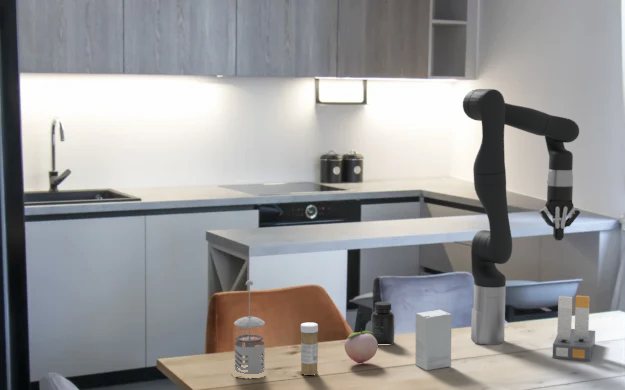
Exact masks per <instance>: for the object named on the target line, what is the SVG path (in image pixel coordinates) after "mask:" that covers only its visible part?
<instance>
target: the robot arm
mask: <svg viewBox="0 0 625 390" xmlns="http://www.w3.org/2000/svg"><path fill="white" fill-rule="evenodd" d="M462 108H463V109H462V110H463V113H465V116H467V118H469V119H471V120H474V121H479V122H480V121H481V129H482V130H481V131H482V132H481V134H482V137H481V143H480V146H479V149H478V151H477V155H476V157H475V159H474V163H473V185H474V190H475V194H476V197H477V198H478V200H479V202H480V204H481V205H482V207H483V210H484V212H485V213H486V216H487V219H488V224H489V230H486V229H482V230H479V231H477V232H476V233H475V234H474V236H473V238H472V241H471V245H470V246H471V247H470V250H471V251H470V258H471V259H470V261H471V274H472V277H473V307H472V308H471V321H470V322H471V325H470V328H471V329H470V331H471V333H470V339H471V341H473V342H474V343H475V344H479V345H480V344H481V345H487V346H488V345H489V346H490V345H491V346H492V345H494V346H496V345H501V344H504V343H505V326H506V325H505V322H506V321H505V320H506V315H505V314H506V289H507V288H506V286H507V285H506V280H507V278H506V276H505V274H503V273H502V272H501V271H499V269H498V268H497V266H496V264H498V265H502V264H506V263H507V262H508V261H509V260H510V258H511V257H512V252H513V239H512V230H511V226H510V219H509V218H510V217H509V211H508V197H507V174H506V162H505V160H506V159H505V125H506V126H510V127H512V128H514V129H516V130H517V129H518V130H520V131H524V132H526V133H528V134H533V135H536V136H541V137H544V139H545V144H546V148H547V153H548V158H549V159H548V174H547V180H546V183H547V188H546V189H547V190H546V191H547V192H546V202H545V205H544V207H543V208H542V209H538V214H539V215H540V216H541V217H542V219H543V220H544V222H545V223H546V224H547V226H550V227H552V229H553V230H552V232H553V233H552V234H553V235H552V236H553V239H555V240H554V241H558V242H559V241H562V239H564V236H565V235H564V234H565V231H564V230H565V228H567V227H570V226H571V225H572V224H573V223H574V221H575V220H576V218H578V216H579V215H580V214H581V212H580V210H578V209H577V208H576V207H574V203H573V189H574V187H573V186H574V185H573V184H574V174H573V167H574V166H573V163H574V161H573V160H574V156H573V152H572V151H570V150H568V149H566V148H565V143H572V142H574V141H575V140H577V139H578V138H579V135H580V128H579V125H578V124H577V122H576V121H574V120H573V119H570V118H567V117H562V116H557V115H551V114H548V113H546V112H544V111H540V110H539V109H538V110H537V109H534V108H532V107H531V108H530V107H527V106H526V107H525V106H520V105H516V104H511V103H507V102H505V98H504V96H503V94H502V93H501V92H500V91H499V90H498V89H494V88H477V89H472V90H471V91H469V92H467V93H466V94H465V95H464V98H463V100H462ZM548 214H550V216H551V218H550V216H549V215H548ZM569 214H570V215H569ZM568 215H569V216H568ZM567 216H568V217H567Z"/></svg>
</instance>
